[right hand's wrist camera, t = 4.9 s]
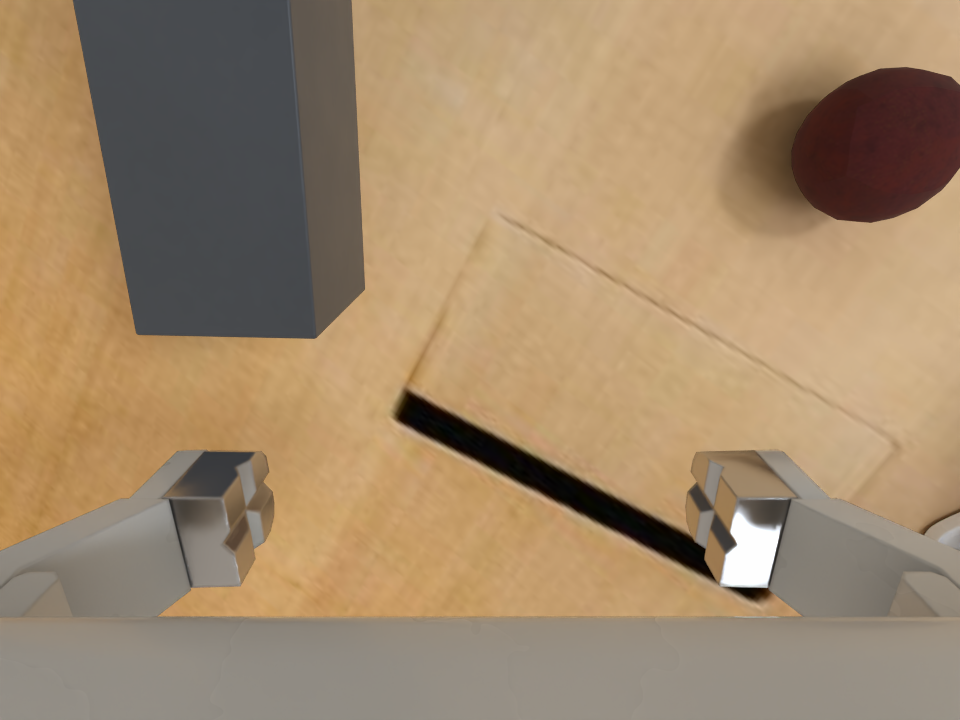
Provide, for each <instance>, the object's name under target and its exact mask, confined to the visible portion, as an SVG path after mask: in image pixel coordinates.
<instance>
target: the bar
mask: <svg viewBox="0 0 960 720" xmlns="http://www.w3.org/2000/svg"><path fill="white" fill-rule="evenodd" d="M73 3H74V9H75V14H76V19H77V24H78V30H79V35H80V40H81V45H82V51H83V56H84V61H85V66H86V72H87V77H88V82H89V88H90V93H91V98H92V103H93V109H94V114H95V119H96V124H97V130H98V135H99V140H100V145H101V151H102V156H103V161H104V166H105V172H106V177H107V182H108V187H109V193H110V198H111V203H112V208H113V214H114V219H115V224H116V230H117V235H118V240H119V245H120V251H121V256H122V261H123V266H124V272H125V277H126V282H127V287H128V293H129V298H130V303H131V308H132V314H133V319H134V324H135V329H136V333H137V334H138V335H167V336H213V337H259V338H305V339H315V338H317V337H318V336H319V335H320V334H321V333H322V332H323V331H324V330H325V329H326V328H327V327H328V326H329V325H330V324H331V323H332V322H333V321H334V320H335V319H336V318H337V317H338V316H339V315H340V314H341V313H342V312H343V311H344V310H345V309H346V308H347V307H348V306H349V305H350V304H351V303H352V302H353V301H354V300H355V299H356V298H357V297H358V296H359V295H360V294H361V293H362V292H363V291H364V290H365V279H364V257H363V236H362V215H361V194H360V172H359V151H358V130H357V108H356V87H355V66H354V45H353V23H352V2H351V0H73Z"/></svg>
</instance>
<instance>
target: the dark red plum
mask: <svg viewBox="0 0 960 720" xmlns="http://www.w3.org/2000/svg"><path fill="white" fill-rule="evenodd" d="M959 168H960V85H959V84H958V83H957V82H956V81H955V80H954V79H953V78H952V77H950V76H946V75H942V74H938V73H934V72H930V71H926V70H921V69H915V68H908V67H901V68H884V69H878V70H875V71H872V72H870V73H867V74H864V75H861V76H859V77H857V78H854V79H852V80H850V81H847V82H846V83H844V84H843V85H841V86H840V87H838V88H837V89H836V90H834V91H833V92H831V93H830V94H828V95H827V96H826V97H825V98H824V99H823V100H822V101H821V102H820V103H819V104H818V105H817V106H816V107H815V108H814V109H813V110H812V111H811V112H810V113H809V115H808V116H807V117H806V119H805V121H804V122H803V124H802V126H801V127H800V129H799V131H798V132H797V134H796V137H795V141H794V144H793V148H792V169H793V173H794V176H795V180H796V182H797V184H798V186H799V188H800V190H801V191H802V193H803V195H804V196H805V198H806V199H807V200H808V201H809V202H810V203H811V204H812V205H813V206H814V208H816V209H818V210H820V211H822V212H824V213H826V214H827V215H829V216H831V217H833V218H835V219H837V220H846V221H856V222H869V223H872V222H876V221H881V220H886V219H890V218H894V217H897V216H899V215H901V214H904V213H906V212H909V211H911V210H914V209H916V208H918V207H919V206H921V205H922V204H924V203H925V202H926V201H928V200H929V199H930V198H932V197H933V196H934V195H936V194H937V193H939V192H940V191H941V190H942V189H943V188H944V187H945V186H946V185H947V184H948V182H949V181H950V180H951V179H952V177H953V176H954V175H955V173H956V172H957V171H958V169H959Z"/></svg>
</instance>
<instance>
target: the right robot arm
mask: <svg viewBox="0 0 960 720" xmlns="http://www.w3.org/2000/svg"><path fill="white" fill-rule="evenodd" d="M268 473H269V468H268V463H267V458H266V456H265V455H264V453H263V452H262V451H228V450H209V451H208V450H182V451H177V452H176V453H175V454H174V455H173V456H172V457H171V458H170V459H169V460H168V461H167V462H166V463H165V464H164V465H163V466H162V467H161V468H160V469H159V470H158V471H157V472H156V473H155V474H154V475H153V476H152V477H151V478H150V479H149V480H148V481H147V482H146V483H145V484H144V485H143V486H142V487H140V488H139V489H138V490H137V491H136V492H135V493H134V494H133V495H132V496H131V497H130V498H129V499H119V500H116V501H114V502H112V503H109V504H107V505H105V506H102V507H100V508H98V509H95V510H93V511H91V512H89V513H86V514H84V515H82V516H79V517H77V518H75V519H72V520H70V521H68V522H66V523H63V524H61V525H59V526H56V527H54V528H52V529H49V530H47V531H45V532H43V533H40V534H38V535H36V536H33V537H31V538H29V539H26V540H24V541H22V542H20V543H17V544H15V545H13V546H10V547H8V548H6V549H3V550H1V551H0V720H960V512H959V513H957V514H954V515H952V516H950V517H948V518H946V519H944V520H942V521H940V522H938V523H936V524H934V525H933V526H932V527H930V528H929V529H928V530H927V531H926V533H925V535H922V534H919V533H917V532H915V531H913V530H910V529H908V528H906V527H903V526H901V525H899V524H897V523H894V522H892V521H890V520H887V519H885V518H883V517H880V516H878V515H876V514H874V513H871V512H869V511H867V510H864V509H862V508H860V507H858V506H855V505H853V504H851V503H848V502H846V501H844V500H841V499H831V498H830V497H829V496H828V495H827V494H826V493H825V492H824V491H823V490H822V489H821V488H820V487H819V486H818V485H817V484H815V483H814V482H813V481H812V480H811V479H810V478H809V477H808V476H807V475H806V474H805V473H804V472H803V471H802V470H801V469H800V468H799V467H798V466H797V465H796V464H795V463H794V462H793V461H792V460H791V459H790V458H789V457H788V456H787V455H786V454H785V453H784V452H782V451H779V450H748V451H708V452H696V454H695V456H694V458H693V462H692V467H691V473H692V474H693V476H694V478H695V479H696V481H697V482H696V483H695V484H694V486H693V487H692V488H691V489H690V490H689V491H688V492H687V499H686V519H687V524H688V527H689V531H690V533H691V535H692V537H693V539H694V541H695V542H696V543H698V544H699V545H701V546H702V547H704V548H705V549H706V553H705V558H704V559H705V561H706V563H707V565H708V566H709V568H710V570H711V572H712V574H713V575H714V577H715V579H716V581H717V583H718V584H719V586H727V587H764V588H769V590H770V591H771V592H772V593H774V594H775V595H776V596H777V597H779V598H780V599H781V600H783V601H784V602H785V603H787V604H788V605H789V606H790V607H792V608H793V609H794V610H796V611H797V612H798V613H799V614H801V615H802V616H803V617H157V616H158V615H159V614H161V613H162V612H163V611H165V610H166V609H167V608H168V607H170V606H171V605H172V604H174V603H175V602H176V601H178V600H179V599H180V598H181V597H183V596H184V595H185V594H187V593H188V592H189V591H190V590H191V588H196V587H232V586H241V584H242V583H243V581H244V579H245V577H246V575H247V574H248V572H249V570H250V568H251V566H252V565H253V563H254V561H255V553H254V549H255V548H256V547H258V546H259V545H261V544H262V543H264V542H265V541H266V539H267V537H268V535H269V533H270V531H271V527H272V523H273V518H274V498H273V492H272V491H271V490H270V489H269V488H268V487H267V486H266V485H265V483H264V482H263V481H264V479H265V478H266V476H267V474H268Z"/></svg>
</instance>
